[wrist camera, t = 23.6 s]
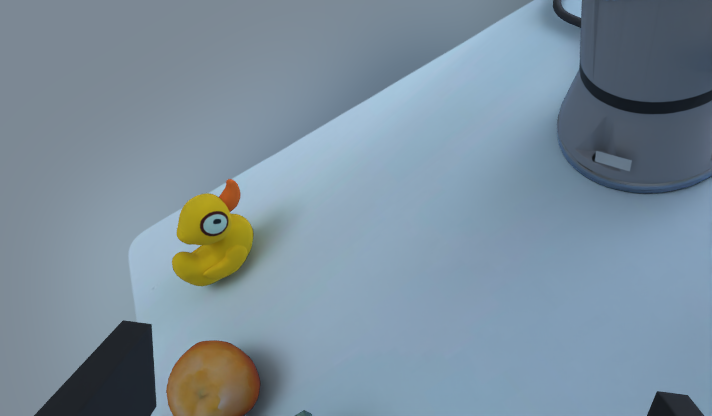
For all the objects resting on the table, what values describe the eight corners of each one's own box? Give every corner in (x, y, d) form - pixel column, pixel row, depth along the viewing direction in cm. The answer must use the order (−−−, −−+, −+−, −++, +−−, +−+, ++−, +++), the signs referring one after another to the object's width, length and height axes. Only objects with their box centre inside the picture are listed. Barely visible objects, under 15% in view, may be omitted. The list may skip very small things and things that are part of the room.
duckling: (258, 210, 58) (212, 161, 51) (284, 230, 55) (239, 182, 47) (192, 280, 56) (132, 240, 48) (215, 305, 53) (155, 267, 45)
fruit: (241, 317, 49) (214, 327, 41) (282, 383, 48) (263, 407, 40) (176, 361, 49) (136, 380, 41) (216, 429, 48) (183, 461, 40)
